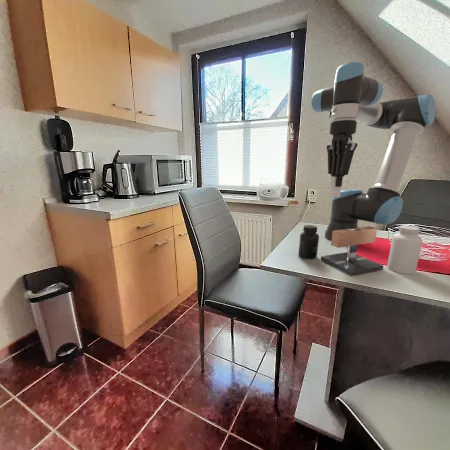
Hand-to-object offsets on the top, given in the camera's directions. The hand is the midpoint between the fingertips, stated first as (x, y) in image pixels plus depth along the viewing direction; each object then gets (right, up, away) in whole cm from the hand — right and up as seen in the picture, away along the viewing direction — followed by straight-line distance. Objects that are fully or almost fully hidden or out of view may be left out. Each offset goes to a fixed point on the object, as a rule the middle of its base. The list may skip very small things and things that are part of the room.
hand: (334, 196), depth 83 cm
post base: (+8, -24, +5) cm, 25 cm away
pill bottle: (+23, -25, +1) cm, 34 cm away
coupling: (+8, -19, +3) cm, 20 cm away
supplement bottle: (-5, -22, +12) cm, 26 cm away
